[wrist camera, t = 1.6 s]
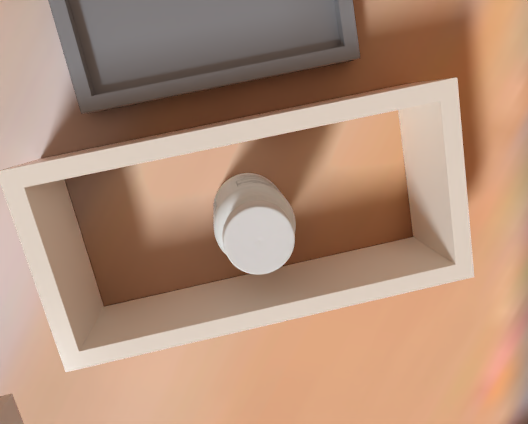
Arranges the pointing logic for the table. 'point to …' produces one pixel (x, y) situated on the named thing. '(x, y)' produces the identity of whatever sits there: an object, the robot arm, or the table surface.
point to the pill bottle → (254, 223)
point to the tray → (194, 44)
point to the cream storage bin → (251, 285)
